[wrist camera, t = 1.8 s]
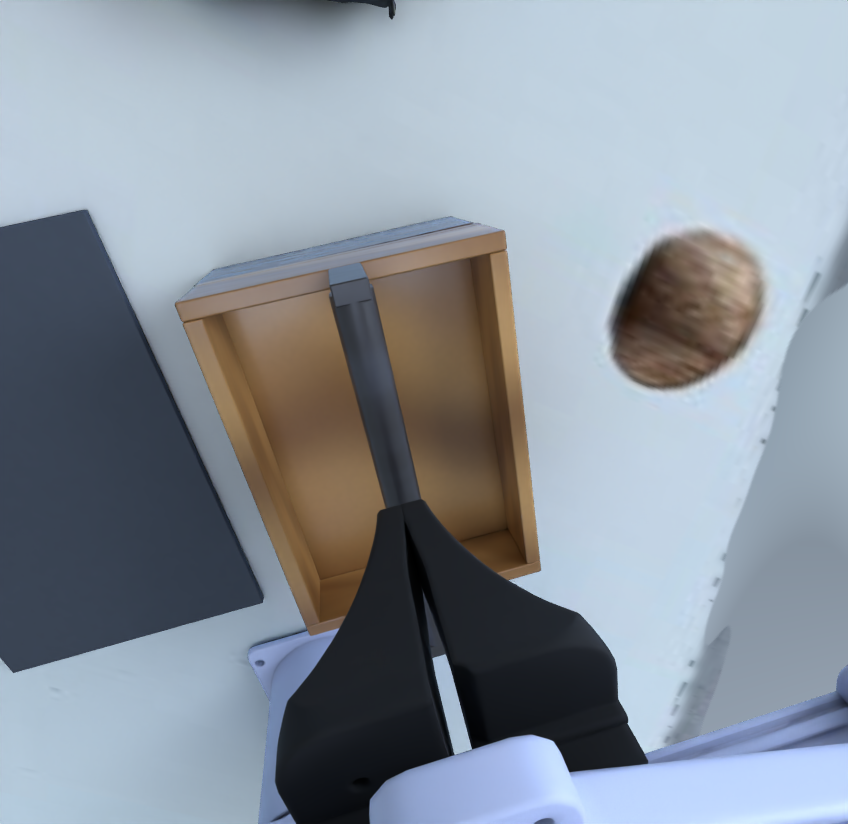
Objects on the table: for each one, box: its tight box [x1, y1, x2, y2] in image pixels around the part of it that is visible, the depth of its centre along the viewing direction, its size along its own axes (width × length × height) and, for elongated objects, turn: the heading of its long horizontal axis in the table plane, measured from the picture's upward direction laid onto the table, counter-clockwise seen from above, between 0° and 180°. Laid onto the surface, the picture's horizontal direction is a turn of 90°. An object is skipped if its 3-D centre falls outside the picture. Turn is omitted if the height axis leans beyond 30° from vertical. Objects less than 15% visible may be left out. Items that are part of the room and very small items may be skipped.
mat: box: [0, 210, 264, 673], centre depth 22 cm, size 20×13×1 cm, turn 11°
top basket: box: [175, 223, 541, 658], centre depth 18 cm, size 14×10×6 cm
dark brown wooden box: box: [194, 216, 474, 286], centre depth 22 cm, size 14×10×4 cm
